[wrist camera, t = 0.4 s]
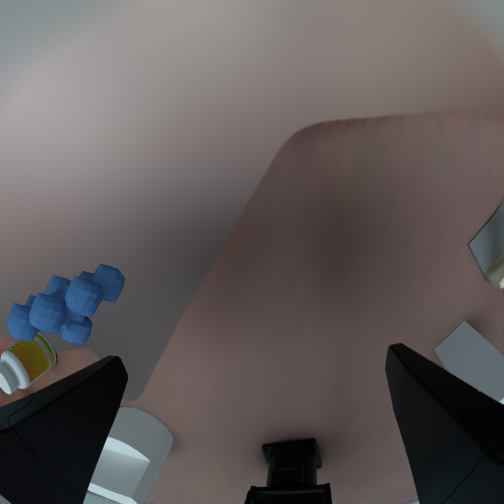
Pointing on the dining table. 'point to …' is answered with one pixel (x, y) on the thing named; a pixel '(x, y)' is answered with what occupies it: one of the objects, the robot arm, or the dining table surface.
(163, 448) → the cylinder with rectangular tab
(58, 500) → the robot arm
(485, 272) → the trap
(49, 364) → the supplement bottle
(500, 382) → the grey block
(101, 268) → the grapes
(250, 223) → the dining table surface
